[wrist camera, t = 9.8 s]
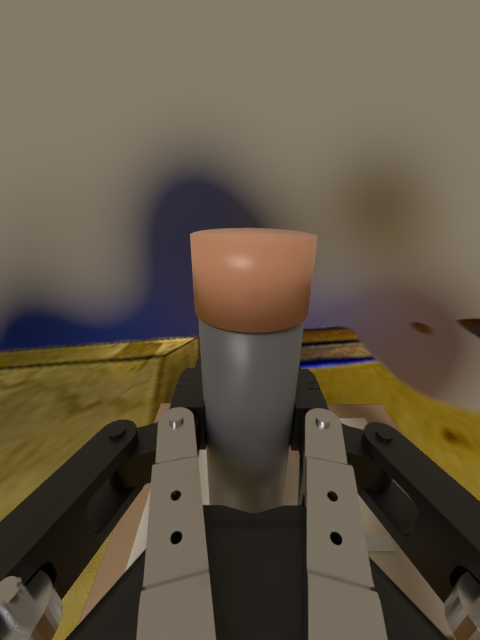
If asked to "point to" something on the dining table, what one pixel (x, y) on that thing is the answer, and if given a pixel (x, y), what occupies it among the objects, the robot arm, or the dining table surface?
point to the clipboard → (380, 544)
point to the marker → (250, 355)
